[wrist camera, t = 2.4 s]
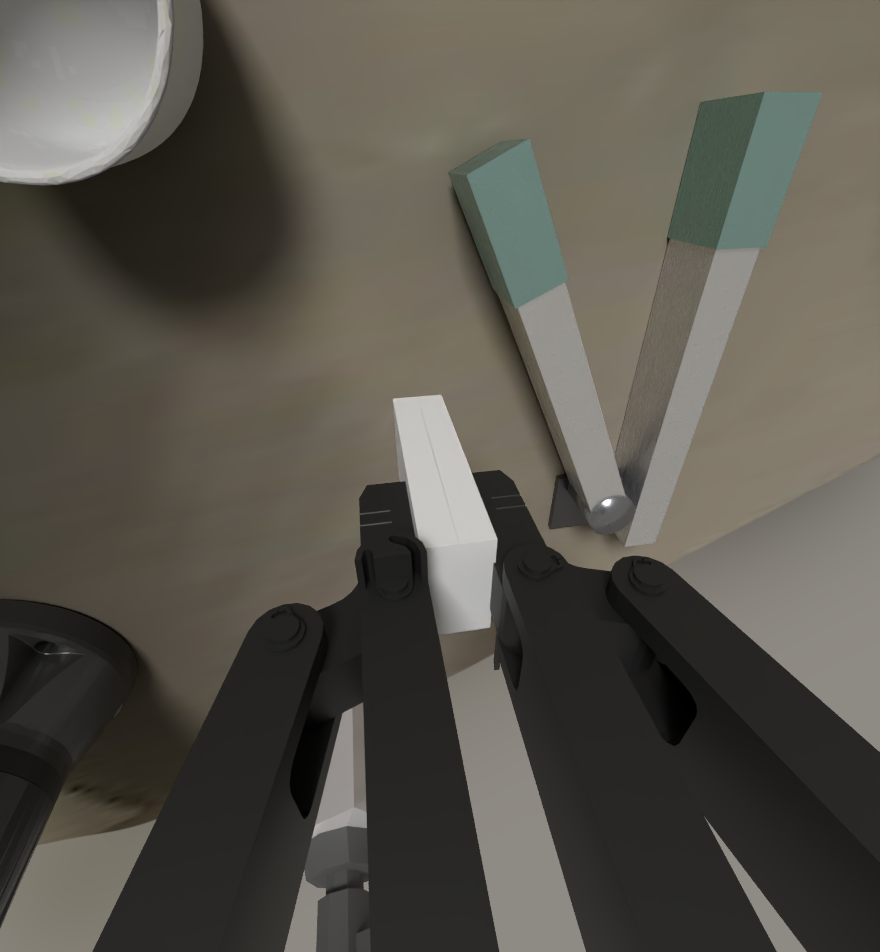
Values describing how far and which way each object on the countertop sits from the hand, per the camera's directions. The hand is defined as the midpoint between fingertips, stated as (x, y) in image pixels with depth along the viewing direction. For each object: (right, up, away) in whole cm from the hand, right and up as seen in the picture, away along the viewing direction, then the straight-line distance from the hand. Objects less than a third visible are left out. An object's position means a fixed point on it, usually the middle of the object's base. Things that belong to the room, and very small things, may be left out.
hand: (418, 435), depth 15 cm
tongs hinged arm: (+7, +5, +14) cm, 17 cm away
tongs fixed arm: (+13, +6, +16) cm, 21 cm away
